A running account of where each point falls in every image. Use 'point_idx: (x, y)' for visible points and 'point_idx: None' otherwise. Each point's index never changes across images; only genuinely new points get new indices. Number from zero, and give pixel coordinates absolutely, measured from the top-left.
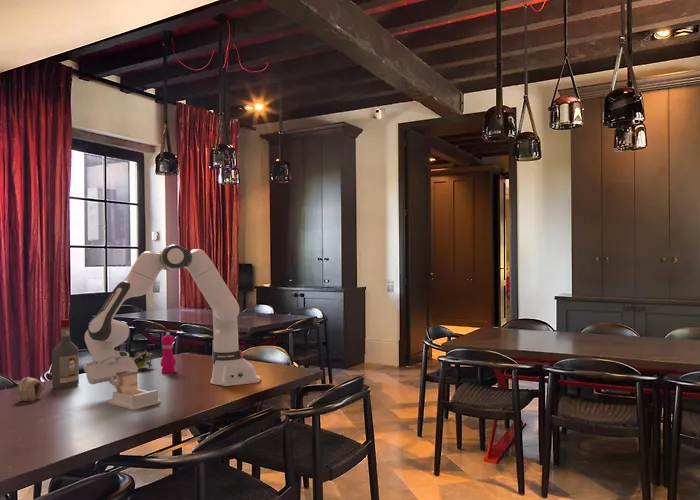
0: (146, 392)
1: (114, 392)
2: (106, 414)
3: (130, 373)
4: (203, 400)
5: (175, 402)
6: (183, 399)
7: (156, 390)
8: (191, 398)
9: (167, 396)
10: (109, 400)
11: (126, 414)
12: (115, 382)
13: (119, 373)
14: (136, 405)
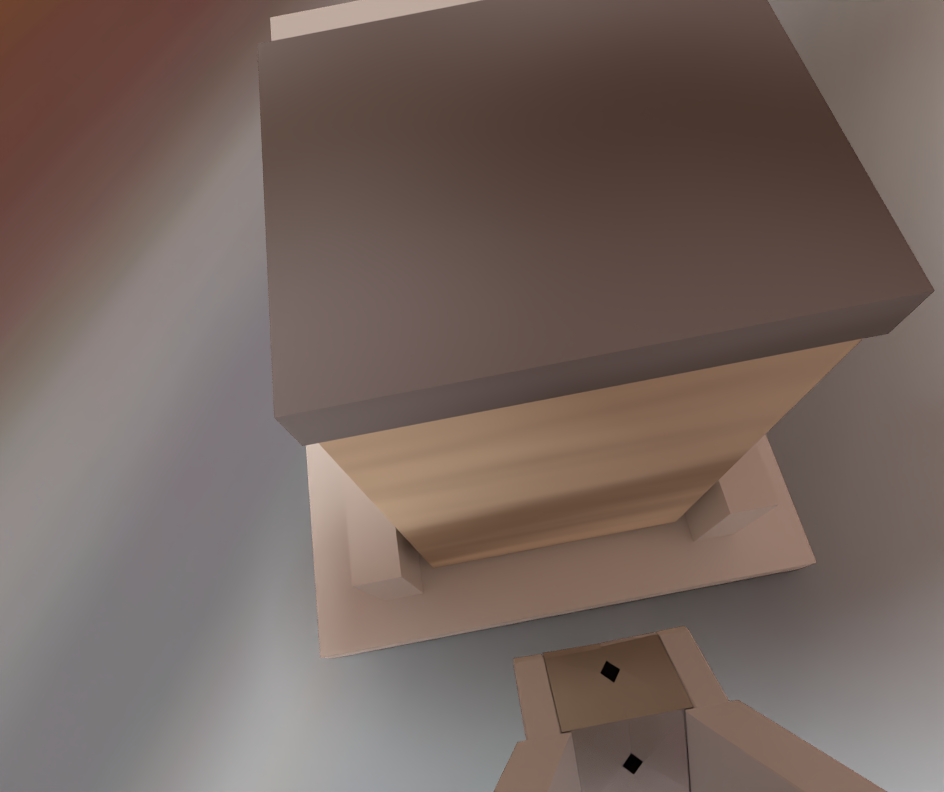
0: (422, 9)
1: (756, 456)
2: (881, 96)
3: (505, 10)
4: (20, 11)
5: (199, 84)
6: (83, 126)
7: (283, 23)
8: (18, 113)
9: (82, 330)
10: (789, 529)
11: None
12: (732, 706)
13: (828, 110)
14: None
